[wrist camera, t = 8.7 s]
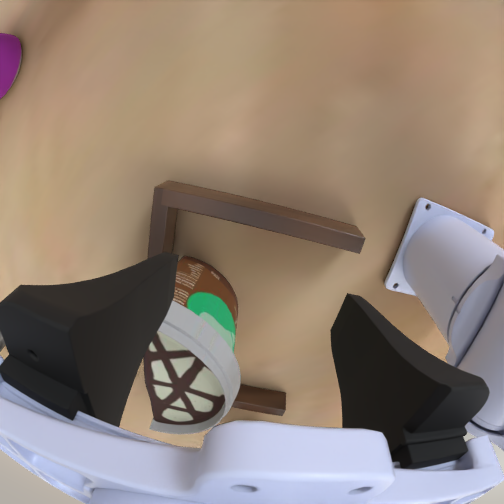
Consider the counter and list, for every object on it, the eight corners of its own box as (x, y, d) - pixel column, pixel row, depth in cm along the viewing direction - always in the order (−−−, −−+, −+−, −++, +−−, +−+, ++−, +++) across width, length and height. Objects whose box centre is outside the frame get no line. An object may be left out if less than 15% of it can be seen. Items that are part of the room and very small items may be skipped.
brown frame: (357, 226, 21) (365, 238, 19) (282, 398, 29) (282, 416, 27) (167, 180, 21) (154, 186, 18) (153, 367, 29) (146, 383, 27)
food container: (242, 364, 27) (227, 450, 18) (181, 352, 28) (150, 432, 18) (263, 251, 22) (250, 336, 13) (185, 238, 23) (128, 310, 13)
